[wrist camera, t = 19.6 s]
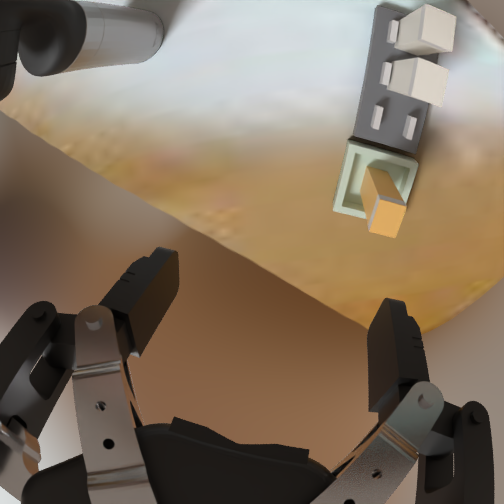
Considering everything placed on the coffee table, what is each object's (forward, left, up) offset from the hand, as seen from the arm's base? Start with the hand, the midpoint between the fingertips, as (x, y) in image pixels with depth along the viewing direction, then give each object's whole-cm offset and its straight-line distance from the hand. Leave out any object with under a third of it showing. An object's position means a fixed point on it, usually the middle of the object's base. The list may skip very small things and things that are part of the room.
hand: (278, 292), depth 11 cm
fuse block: (+10, +10, -34) cm, 37 cm away
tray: (+10, -5, -34) cm, 36 cm away
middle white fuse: (+10, +10, -32) cm, 35 cm away
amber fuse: (+10, -5, -33) cm, 35 cm away
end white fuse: (+10, +16, -32) cm, 37 cm away
